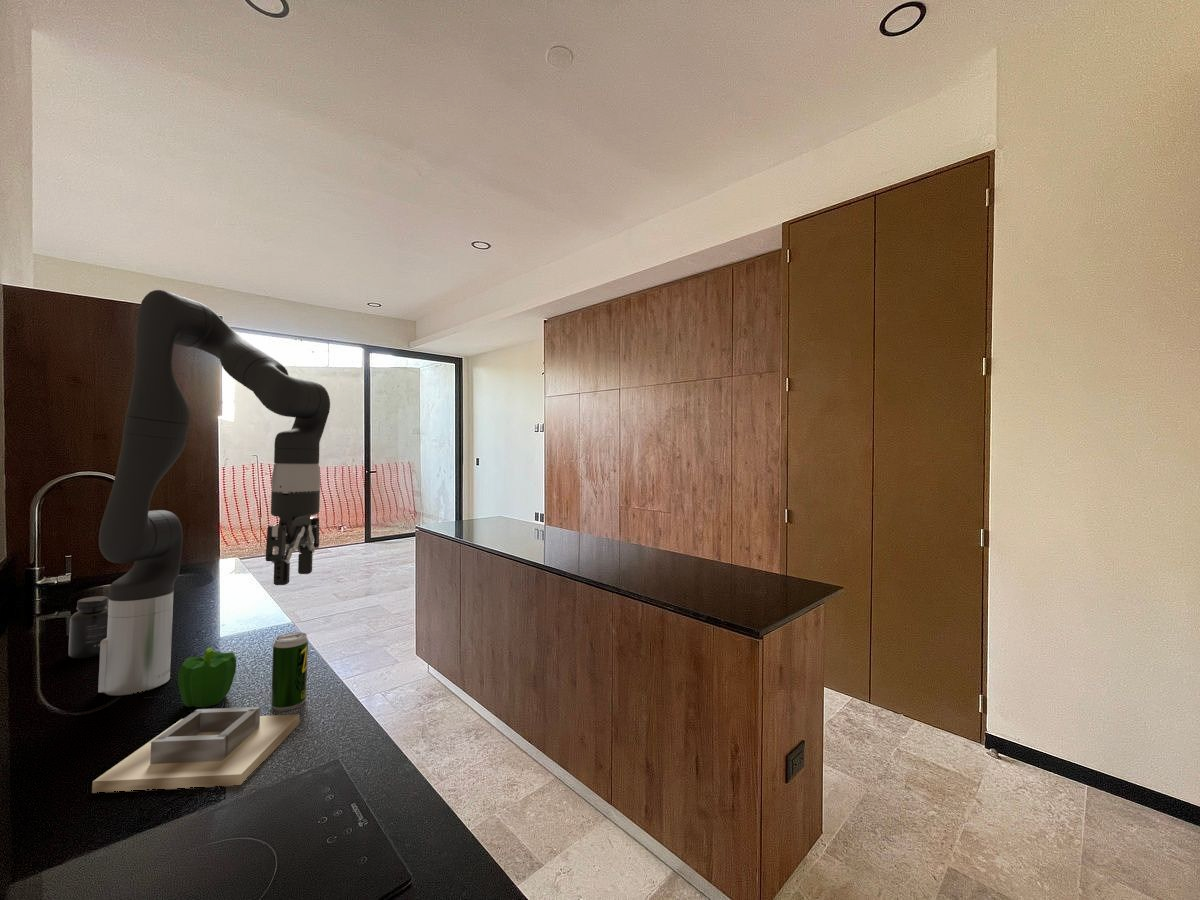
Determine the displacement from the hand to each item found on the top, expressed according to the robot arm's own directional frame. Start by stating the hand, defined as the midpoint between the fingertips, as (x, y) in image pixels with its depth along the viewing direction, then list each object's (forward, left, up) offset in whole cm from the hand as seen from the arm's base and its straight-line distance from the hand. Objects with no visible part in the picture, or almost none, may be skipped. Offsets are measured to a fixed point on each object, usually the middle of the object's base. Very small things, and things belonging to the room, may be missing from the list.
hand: (293, 578), depth 90 cm
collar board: (-4, -15, -22) cm, 27 cm away
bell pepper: (-15, +2, -23) cm, 27 cm away
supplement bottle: (-55, +28, -23) cm, 66 cm away
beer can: (0, 0, -23) cm, 23 cm away
